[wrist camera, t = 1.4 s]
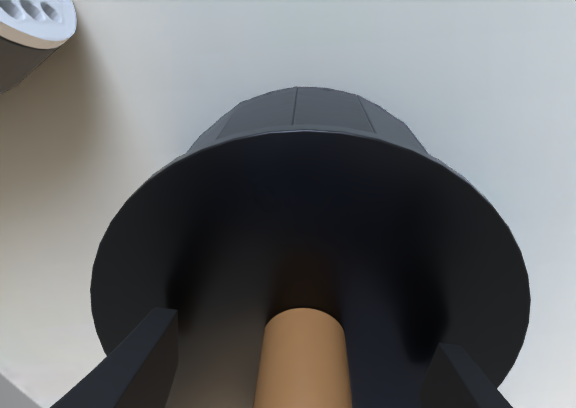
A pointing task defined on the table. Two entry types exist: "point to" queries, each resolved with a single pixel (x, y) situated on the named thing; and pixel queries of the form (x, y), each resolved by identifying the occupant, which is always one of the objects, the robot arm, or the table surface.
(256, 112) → the pot
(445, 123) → the table surface
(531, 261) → the table surface
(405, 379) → the pot lid
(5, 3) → the flashlight
